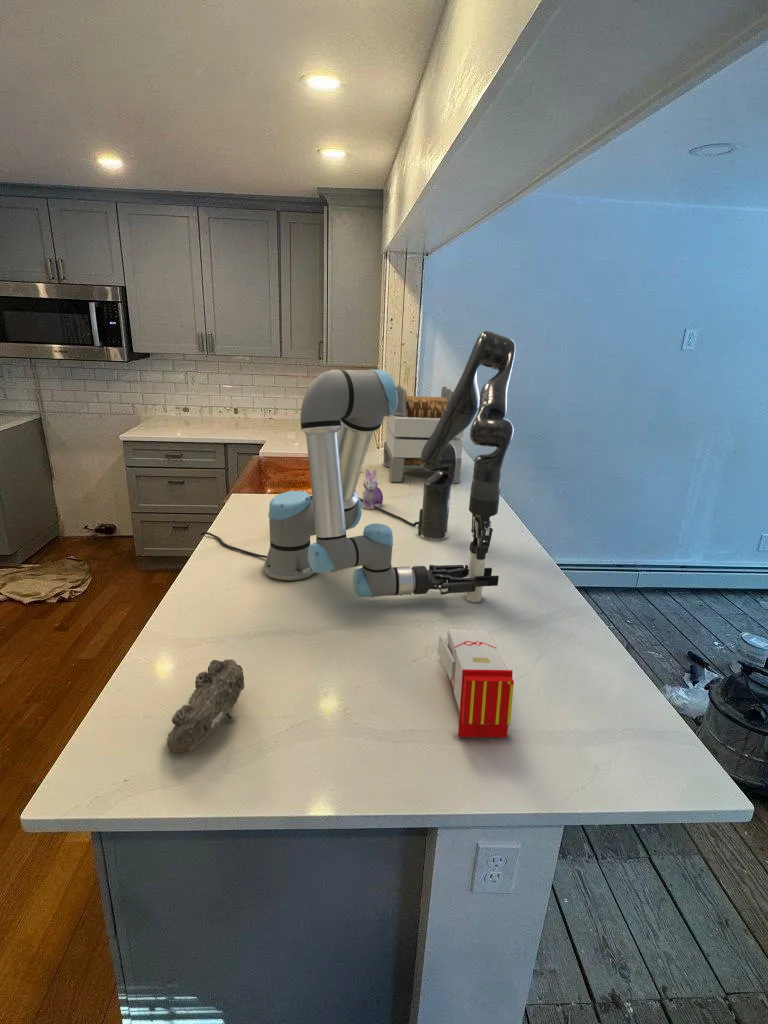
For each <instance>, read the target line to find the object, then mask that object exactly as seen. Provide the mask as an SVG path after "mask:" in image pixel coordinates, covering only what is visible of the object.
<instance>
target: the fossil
mask: <svg viewBox="0 0 768 1024" xmlns="http://www.w3.org/2000/svg"><path fill="white" fill-rule="evenodd" d="M243 670H244V669H243V667H242V665H240V664H237V662H236V661H235V660H234V659H232V658H231V659H227V658H226V659H224V660H223V661H222V660H217V659H212V660H211V661H210V663H209V665H208V666H207V671H201V672H199V673H198V674H197V675H196V676H195V680H194V684H195V685H194V687H195V689H194V690H193V693H192V694H191V697H190V698H189V700H188V704H184V705H182V706H181V707H180V709H177V710H176V711H175V713H174V715H173V716H172V718H171V723H172V724H173V727H172V730H171V731H170V732H168V734H167V738H166V741H167V742H166V745H167V749H168V750H169V751H173V752H174V753H176V754H178V753H182V752H188V751H189V752H192V751H193V750H195V748H196V747H197V746H199V744H200V743H201V742H203V741H204V740H205V739H206V738H207V737H208V736H209V735H210V734H211V733H212V732H214V730H215V729H217V727H218V726H219V724H220V722H221V721H222V720H223V719H224V718H225V716H226V717H227V719H229V720H233V717H232V715H230V714H229V710H230V709H231V708H234V706H235V704H236V703H237V702H238V699H239V697H240V695H241V693H242V691H243V690H245V689H244V688H245V675H244V671H243Z"/></svg>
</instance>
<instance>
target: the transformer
mask: <svg viewBox="0 0 768 1024" xmlns="http://www.w3.org/2000/svg"><path fill="white" fill-rule="evenodd" d="M396 389H397V395H398V404H397V409H396V411H395V413H394V414H393V415H391V416H389V417H386V416H385V423H386V428H385V438H384V442H383V466H384V467H388V468H389V475H388V476H389V477H388V478H389V480H390V482H391V483H402V482H403V475H404V469H405V466H406V467H407V466H411V467H412V466H413V467H415V466H416V467H417V466H418V467H422V466H421V461H420V458H421V452H422V450H423V448H424V446H425V444H426V443H427V441H428V439H429V438H430V436H431V435H432V433H433V432H434V430H435V428H436V426H437V424H438V422H439V420H440V419H441V417H442V415H443V413H444V410H445V408H446V406H447V404H448V402H449V399H450V397H451V396H452V394H453V392H454V390H452V389H451V388H447V386H442V387H441V392H440V393H441V394H440V396H415V395H414V396H413V395H412V396H411V395H407V394H408V393H407V390H406V389H404V388H403V387H402V385H399V384H398V385H397V386H396ZM464 431H465V429H464V430H463V431H462V432H461V433H460V434H459V435H457V436H456V437H455V438H454V439H452V440H451V441H450V442H449V443H451V444H452V445H453V446H454V448H455V450H456V467H455V474H454V481H453V484H455V483H456V484H459V483H461V472H462V461H463V460H462V453H463V442H464V441H463V440H462V439H463V438H464Z"/></svg>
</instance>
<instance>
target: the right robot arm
mask: <svg viewBox="0 0 768 1024" xmlns="http://www.w3.org/2000/svg"><path fill="white" fill-rule="evenodd" d="M515 354H516V343H515V341H514V340H513V339H511V338H509V337H507V336H504V335H501V334H498V333H495V332H492V331H490V330H483V331H482V332H481V333H479V335H478V336H477V338H476V340H475V342H474V344H473V346H472V349H471V351H470V354H469V357H468V360H467V362H466V364H465V367H464V369H463V372H462V374H461V376H460V378H459V380H458V383H457V384H456V386H455V388H454V390H453V391H454V392H453V391H452V392H453V394H452V396H451V397H450V399H449V402H448V404H447V406H446V408H445V410H444V413H443V415H442V417H441V419H440V420H439V422H438V424H437V426H436V428H435V430H434V432H433V433H432V435H431V436H430V438H429V439H428V441H427V443H426V444H425V446H424V448H423V450H422V452H421V458H420V461H421V466H420V467H422V469H423V470H424V471H426V472H432V473H433V472H434V473H433V474H432V475H431V476H429V477H428V478H426V479H425V480H424V482H423V493H422V496H423V497H422V506H421V508H420V509H419V516H418V521H415V522H414V523H413V522H411V521H408V520H407V519H405V518H403V517H401V516H399V515H396V514H394V513H392V512H390V511H387V510H386V509H383V508H382V507H377V506H375V508H374V509H376V510H378V511H380V512H382V513H384V514H386V515H388V516H391V517H393V518H395V519H397V520H400V521H402V522H404V523H405V524H407V525H409V526H412V527H416V526H417V529H418V530H417V535H418V536H420V538H421V539H424V540H426V541H432V542H440V541H444V540H446V539H447V538H448V533H449V530H448V525H449V517H450V516H449V514H450V504H451V494H452V493H451V491H452V486H453V484H454V483H453V481H454V474H455V467H456V450H455V448H454V446H453V445H452V444H451V443H449V442H450V441H451V440H452V439H454V438H455V437H456V436H457V435H459V434H460V433H461V432H462V431H463V430H464V431H465V430H466V429H467V428H468V427H469V426H470V425H471V427H470V430H469V438H470V440H471V442H472V444H474V445H475V446H478V447H488V448H489V447H491V448H495V450H493V451H492V452H488V453H484V454H483V453H482V454H479V455H477V456H475V458H474V463H473V473H472V474H473V475H472V480H471V485H470V494H469V502H468V503H469V505H468V511H469V512H470V513H471V531H470V532H471V534H472V535H471V536H472V538H473V539H472V541H478V544H477V555H476V558H477V559H478V560H484V559H485V554H486V547H487V548H488V549H490V545H491V542H492V541H491V540H492V535H493V531H494V529H493V527H492V521H491V519H490V518H492V517H494V516H495V515H498V513H499V503H500V496H501V479H502V470H503V463H504V461H505V460H504V459H505V457H506V454H507V451H508V449H509V447H510V444H511V442H512V440H513V437H514V432H515V428H514V425H513V422H511V420H509V419H506V418H505V417H506V415H507V406H508V401H507V400H508V390H509V389H508V388H509V383H510V379H511V375H512V371H513V366H514V361H515ZM480 366H483V367H486V368H489V369H491V370H494V371H495V370H496V371H498V372H497V373H496V374H495V375H494V376H493V377H491V378H490V379H488V380H487V381H486V382H485V384H484V385H483V386H482V388H481V390H480V391H479V386H478V379H477V378H478V376H477V375H478V374H477V373H478V369H479V367H480ZM359 498H360V500H361V503H363V498H361V497H359ZM486 555H487V554H486Z"/></svg>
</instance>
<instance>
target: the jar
mask: <svg viewBox="0 0 768 1024" xmlns="http://www.w3.org/2000/svg"><path fill="white" fill-rule="evenodd" d="M469 555H470V556H469V565H468V569H469V573H468V575H467V578H475V577H476V576H484V570H485V568H486V561H487V554H485V559H484V560H478V559H477V558H476V555H477V554H474V553H472V552H470V554H469ZM483 587H484V586H481V587H476V591H475V592H465V599H466V600H467V601H469V602H472V603H479V602H481V601H482V595H483Z"/></svg>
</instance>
